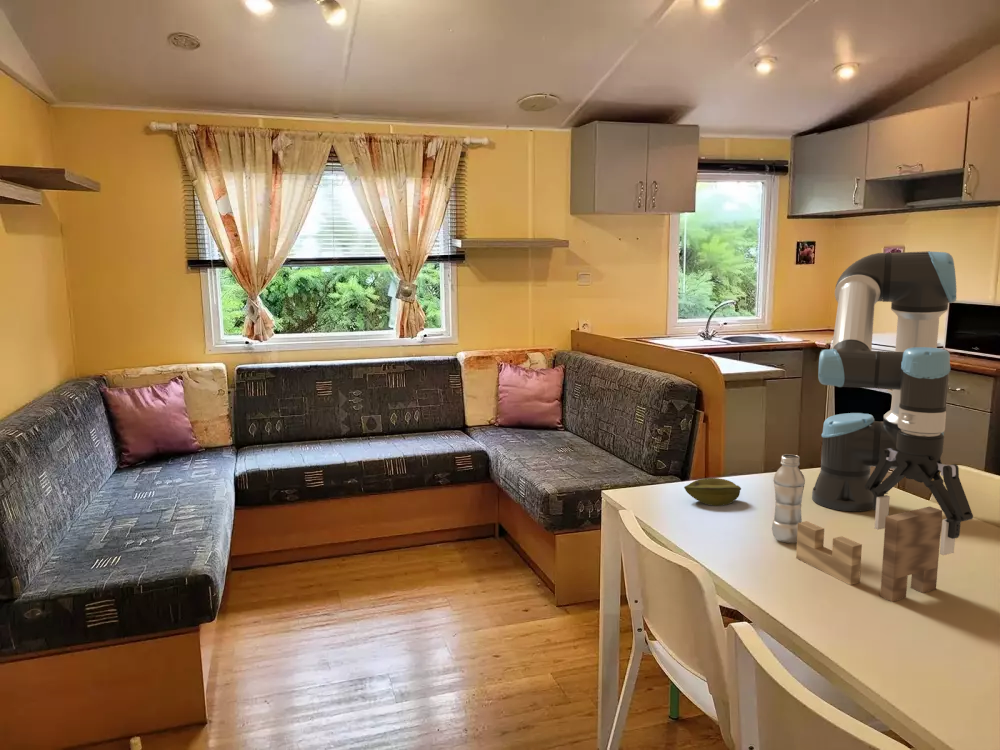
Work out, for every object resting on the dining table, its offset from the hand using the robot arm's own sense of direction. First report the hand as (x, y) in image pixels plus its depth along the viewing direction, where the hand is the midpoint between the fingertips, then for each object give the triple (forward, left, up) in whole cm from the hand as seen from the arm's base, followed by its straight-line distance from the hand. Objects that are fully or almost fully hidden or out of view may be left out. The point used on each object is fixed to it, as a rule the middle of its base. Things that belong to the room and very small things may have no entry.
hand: (912, 540), depth 134 cm
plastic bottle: (+2, -29, -11) cm, 31 cm away
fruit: (0, -57, -11) cm, 58 cm away
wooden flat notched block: (0, 0, -11) cm, 11 cm away
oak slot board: (+6, -14, -11) cm, 19 cm away
